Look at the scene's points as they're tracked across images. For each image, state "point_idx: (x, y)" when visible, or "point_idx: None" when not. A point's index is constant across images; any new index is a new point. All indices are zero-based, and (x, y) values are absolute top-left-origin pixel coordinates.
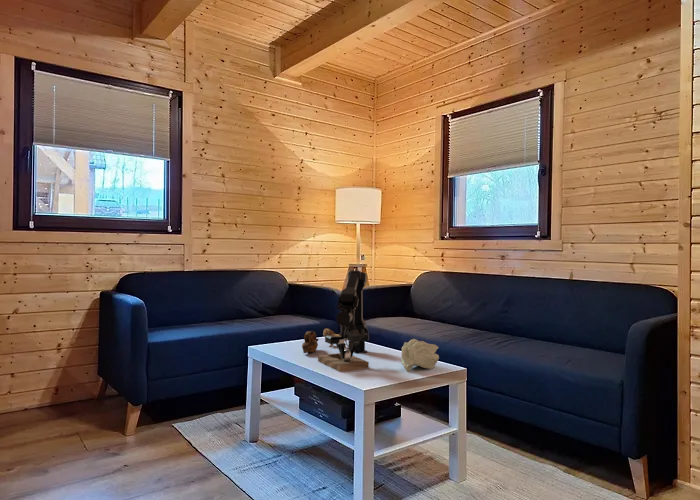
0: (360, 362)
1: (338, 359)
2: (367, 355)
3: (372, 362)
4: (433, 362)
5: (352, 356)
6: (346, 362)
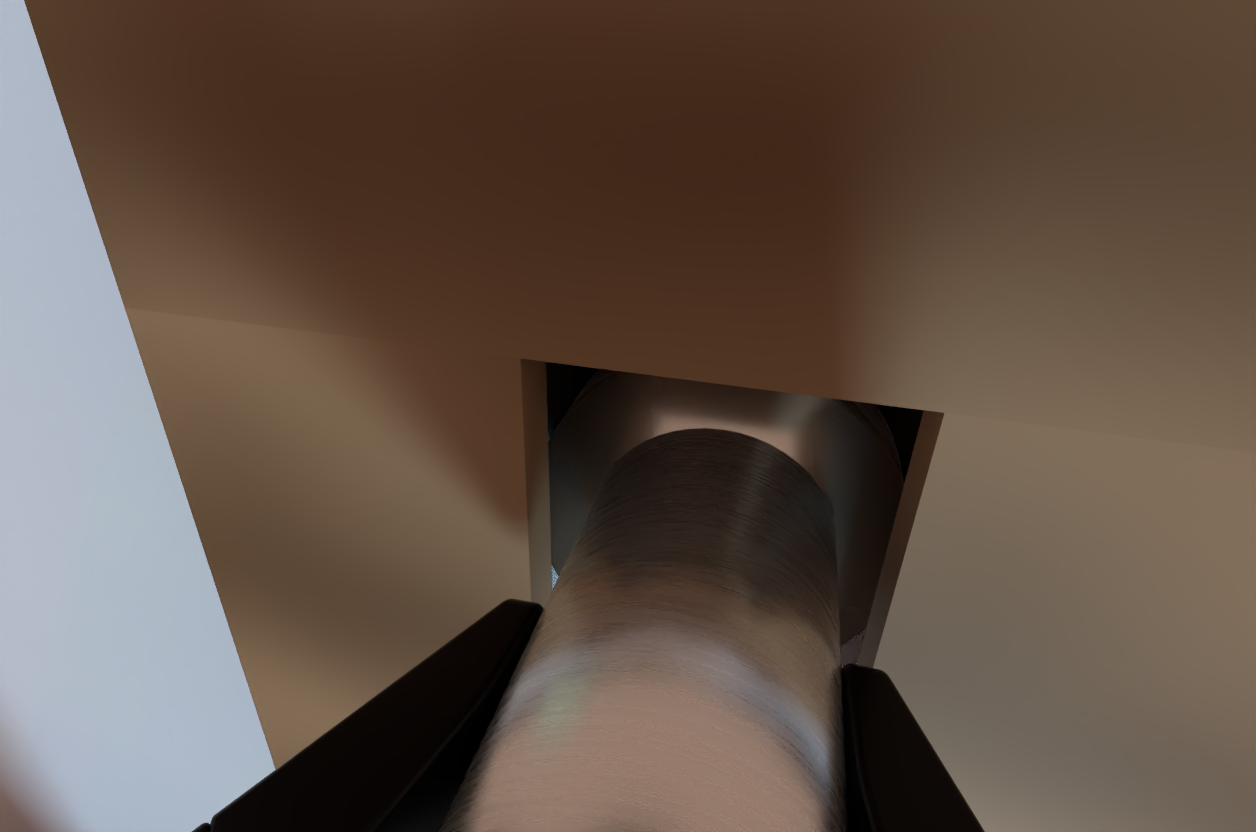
0: (365, 62)
1: None
2: (26, 783)
3: (3, 441)
4: None
5: None
6: (936, 381)
